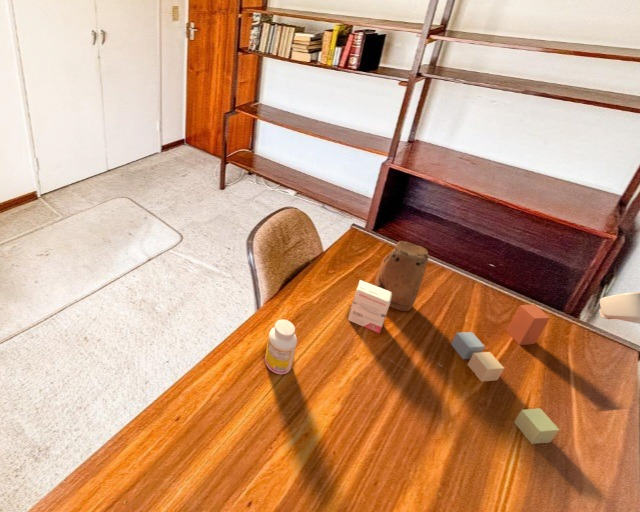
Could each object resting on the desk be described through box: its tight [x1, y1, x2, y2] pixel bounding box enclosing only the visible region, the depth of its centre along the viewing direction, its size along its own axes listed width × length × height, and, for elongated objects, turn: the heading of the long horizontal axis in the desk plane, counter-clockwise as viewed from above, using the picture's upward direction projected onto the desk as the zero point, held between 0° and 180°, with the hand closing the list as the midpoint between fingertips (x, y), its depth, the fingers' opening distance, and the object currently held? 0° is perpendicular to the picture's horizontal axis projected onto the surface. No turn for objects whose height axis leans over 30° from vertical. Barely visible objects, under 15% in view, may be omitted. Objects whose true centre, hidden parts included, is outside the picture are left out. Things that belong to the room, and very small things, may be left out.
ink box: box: [347, 279, 392, 334], centre depth 109 cm, size 9×5×12 cm, turn 58°
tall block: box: [505, 304, 551, 346], centre depth 107 cm, size 4×4×10 cm
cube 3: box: [450, 331, 486, 360], centre depth 103 cm, size 4×4×4 cm
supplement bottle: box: [264, 319, 298, 375], centre depth 96 cm, size 7×7×13 cm
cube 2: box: [467, 351, 505, 382], centre depth 98 cm, size 4×4×4 cm
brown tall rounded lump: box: [373, 240, 429, 312], centre depth 115 cm, size 11×8×20 cm
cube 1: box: [513, 407, 560, 445], centre depth 85 cm, size 4×4×4 cm
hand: (626, 319), depth 85 cm, fingers open, 8 cm apart
